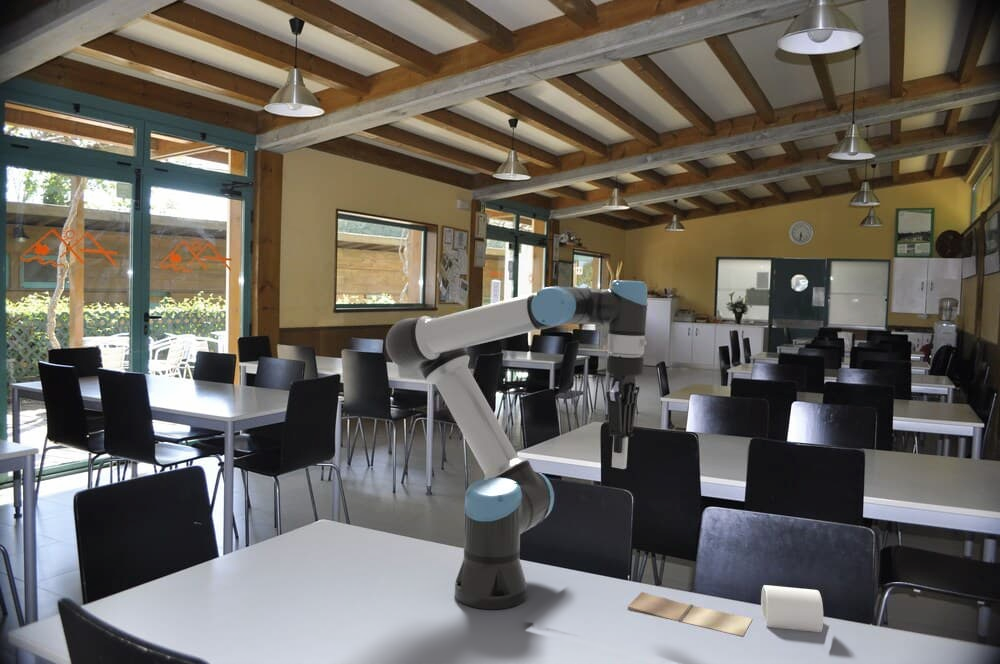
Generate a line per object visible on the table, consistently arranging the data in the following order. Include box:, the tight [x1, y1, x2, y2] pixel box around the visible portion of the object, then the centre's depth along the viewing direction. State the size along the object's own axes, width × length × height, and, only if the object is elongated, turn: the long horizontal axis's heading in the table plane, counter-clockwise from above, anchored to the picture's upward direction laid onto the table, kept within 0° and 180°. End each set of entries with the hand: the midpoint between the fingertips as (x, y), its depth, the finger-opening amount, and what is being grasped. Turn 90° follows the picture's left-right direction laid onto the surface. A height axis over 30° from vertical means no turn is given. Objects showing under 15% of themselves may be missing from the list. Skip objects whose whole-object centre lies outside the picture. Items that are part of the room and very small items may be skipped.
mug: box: [760, 584, 824, 633], centre depth 145 cm, size 12×10×8 cm
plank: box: [627, 591, 690, 622], centre depth 149 cm, size 10×8×1 cm
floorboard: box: [677, 604, 753, 638], centre depth 144 cm, size 12×8×2 cm
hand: (618, 467), depth 157 cm, fingers closed
